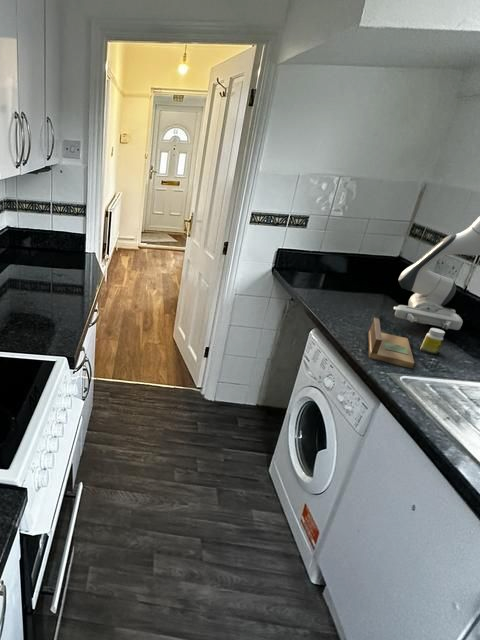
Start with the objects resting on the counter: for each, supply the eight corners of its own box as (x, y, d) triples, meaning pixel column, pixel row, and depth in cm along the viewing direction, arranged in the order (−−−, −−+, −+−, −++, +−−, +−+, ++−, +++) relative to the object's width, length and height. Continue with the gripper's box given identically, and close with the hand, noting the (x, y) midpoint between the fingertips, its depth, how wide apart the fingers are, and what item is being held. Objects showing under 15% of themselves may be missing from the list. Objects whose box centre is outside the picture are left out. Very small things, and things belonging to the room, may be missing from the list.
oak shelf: (405, 343, 149) (412, 325, 146) (412, 368, 131) (420, 349, 129) (367, 334, 154) (373, 317, 152) (368, 357, 137) (375, 339, 134)
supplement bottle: (437, 356, 140) (447, 335, 137) (420, 352, 142) (430, 331, 139) (434, 351, 144) (444, 329, 141) (418, 347, 146) (428, 326, 142)
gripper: (396, 298, 164) (398, 309, 153) (460, 310, 155) (468, 322, 144) (390, 313, 167) (392, 324, 156) (453, 326, 158) (460, 339, 147)
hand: (429, 323), depth 150 cm, fingers open, 8 cm apart
